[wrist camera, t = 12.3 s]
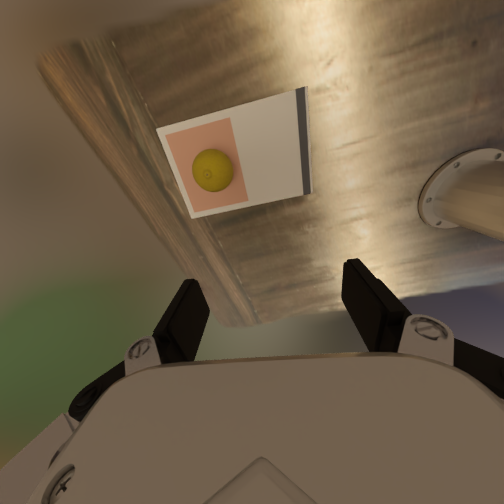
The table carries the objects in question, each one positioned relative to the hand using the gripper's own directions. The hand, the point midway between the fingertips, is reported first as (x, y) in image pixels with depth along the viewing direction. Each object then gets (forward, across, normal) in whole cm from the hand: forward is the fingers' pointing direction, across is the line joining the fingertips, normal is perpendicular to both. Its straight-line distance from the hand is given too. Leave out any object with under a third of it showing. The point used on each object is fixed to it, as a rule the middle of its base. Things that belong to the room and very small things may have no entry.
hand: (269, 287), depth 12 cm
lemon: (+22, +7, -6) cm, 24 cm away
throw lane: (+23, +3, -7) cm, 24 cm away
